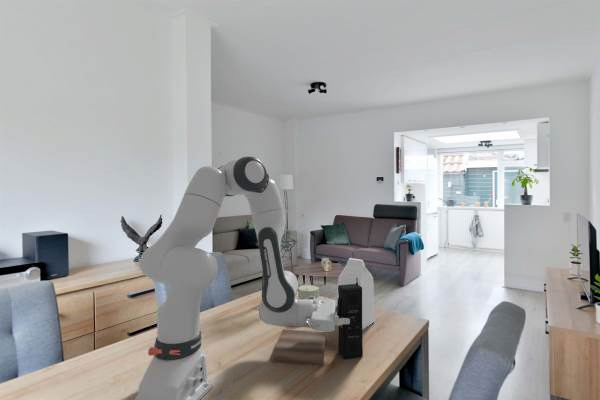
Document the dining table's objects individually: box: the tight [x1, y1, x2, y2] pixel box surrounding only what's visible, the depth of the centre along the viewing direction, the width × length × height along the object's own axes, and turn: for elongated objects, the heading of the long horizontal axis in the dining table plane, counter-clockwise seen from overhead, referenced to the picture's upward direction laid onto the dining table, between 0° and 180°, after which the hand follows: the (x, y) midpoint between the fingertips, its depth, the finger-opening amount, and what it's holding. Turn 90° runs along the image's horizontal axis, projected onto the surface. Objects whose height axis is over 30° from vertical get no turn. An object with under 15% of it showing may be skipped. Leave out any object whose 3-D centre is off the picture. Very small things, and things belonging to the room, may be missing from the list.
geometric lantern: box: [255, 233, 299, 292], centre depth 163 cm, size 16×16×35 cm
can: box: [297, 284, 320, 300], centre depth 150 cm, size 9×9×12 cm
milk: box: [335, 257, 376, 331], centre depth 141 cm, size 12×12×26 cm
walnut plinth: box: [272, 329, 327, 366], centre depth 117 cm, size 18×16×3 cm
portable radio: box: [336, 283, 364, 360], centre depth 113 cm, size 8×6×25 cm
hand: (349, 315), depth 113 cm, fingers open, 8 cm apart
